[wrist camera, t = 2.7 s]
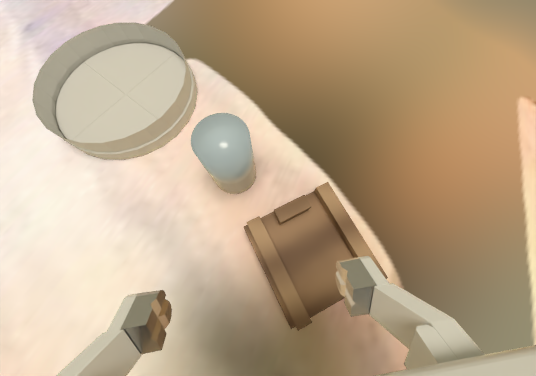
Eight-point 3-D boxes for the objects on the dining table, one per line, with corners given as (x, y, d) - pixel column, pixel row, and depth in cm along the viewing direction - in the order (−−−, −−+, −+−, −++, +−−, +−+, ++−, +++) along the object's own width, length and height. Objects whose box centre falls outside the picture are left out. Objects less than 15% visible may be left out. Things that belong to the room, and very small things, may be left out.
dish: (35, 109, 36) (-1, 87, 31) (137, 31, 41) (120, 2, 37) (123, 189, 32) (97, 177, 27) (225, 90, 37) (218, 65, 32)
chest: (373, 272, 28) (394, 275, 23) (288, 321, 26) (293, 335, 21) (323, 191, 31) (332, 178, 26) (246, 230, 29) (241, 224, 25)
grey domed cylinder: (263, 182, 32) (259, 149, 22) (224, 201, 31) (203, 174, 21) (245, 149, 33) (235, 104, 24) (208, 165, 32) (182, 126, 23)
